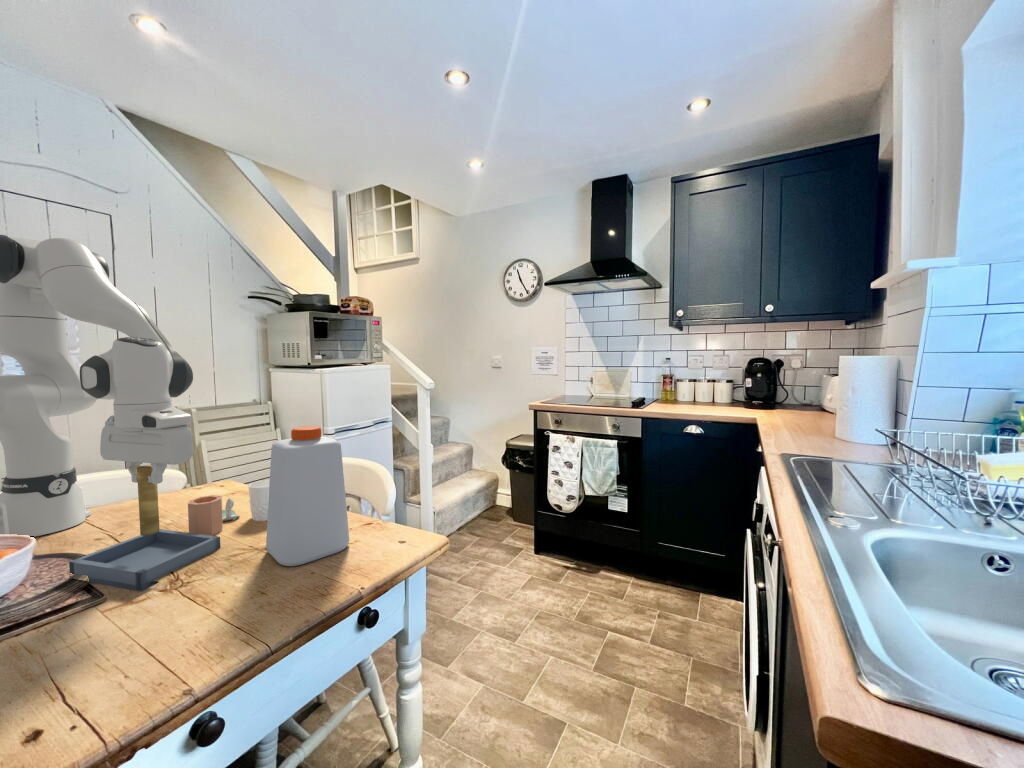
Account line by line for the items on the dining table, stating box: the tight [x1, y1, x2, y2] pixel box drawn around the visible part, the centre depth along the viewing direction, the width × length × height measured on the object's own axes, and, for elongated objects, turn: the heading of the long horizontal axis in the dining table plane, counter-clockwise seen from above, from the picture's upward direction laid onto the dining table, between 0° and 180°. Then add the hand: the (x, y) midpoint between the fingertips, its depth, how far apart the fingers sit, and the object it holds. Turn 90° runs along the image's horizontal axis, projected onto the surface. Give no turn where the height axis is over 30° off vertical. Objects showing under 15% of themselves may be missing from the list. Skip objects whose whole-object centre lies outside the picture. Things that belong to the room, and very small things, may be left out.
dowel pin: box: [137, 464, 161, 536], centre depth 84 cm, size 3×3×14 cm
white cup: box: [248, 478, 270, 522], centre depth 109 cm, size 8×8×10 cm
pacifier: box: [222, 498, 240, 522], centre depth 107 cm, size 7×6×6 cm
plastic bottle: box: [265, 425, 350, 567], centre depth 92 cm, size 15×15×28 cm
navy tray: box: [68, 528, 221, 592], centre depth 85 cm, size 18×16×4 cm
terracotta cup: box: [187, 494, 224, 536], centre depth 99 cm, size 6×6×9 cm
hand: (147, 482), depth 84 cm, fingers closed on dowel pin, 3 cm apart
